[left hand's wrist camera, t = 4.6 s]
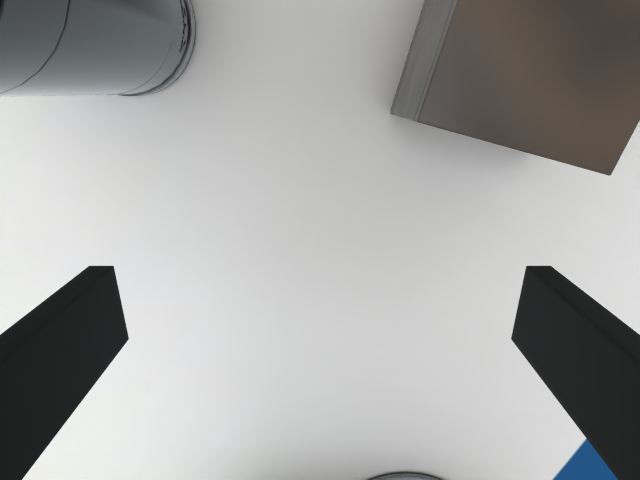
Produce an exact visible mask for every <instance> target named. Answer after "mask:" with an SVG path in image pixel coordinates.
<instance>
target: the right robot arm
mask: <svg viewBox="0 0 640 480" xmlns="http://www.w3.org/2000/svg"><path fill="white" fill-rule="evenodd" d="M194 41H195V18H194V12H193V8H192V4H191V1H190V0H0V97H1V96H57V95H123V96H142V95H148V94H152V93H156V92H158V91H160V90H163V89H164V88H166V87H168V86H169V85H170V84H172V83H173V82H174V81H175V80H176V79H177V78H178V77H179V76H180V75H181V73H182V72H183V71H184V69H185V67H186V66H187V64H188V62H189V59H190V57H191V54H192V51H193V47H194Z"/></svg>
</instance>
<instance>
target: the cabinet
mask: <svg viewBox="0 0 640 480" xmlns="http://www.w3.org/2000/svg"><path fill="white" fill-rule="evenodd" d="M390 113H391V114H394V115H397V116H400V117H403V118H406V119H410V120H413V121H416V122H419V123H423V124H427V125H430V126H434V127H437V128H441V129H444V130H448V131H452V132H455V133H459V134H462V135H466V136H470V137H473V138H477V139H480V140H484V141H487V142H491V143H495V144H498V145H502V146H505V147H509V148H512V149H516V150H520V151H523V152H527V153H530V154H534V155H538V156H541V157H545V158H548V159H552V160H555V161H559V162H563V163H566V164H570V165H573V166H577V167H581V168H584V169H588V170H591V171H595V172H598V173H602V174H606V175H611V173H612V172H613V170H614V168H615V166H616V164H617V162H618V160H619V158H620V156H621V154H622V153H623V151H624V149H625V147H626V145H627V143H628V141H629V139H630V137H631V135H632V134H633V132H634V130H635V128H636V126H637V124H638V122H639V120H640V0H425V1H424V5H423V8H422V11H421V14H420V18H419V21H418V24H417V27H416V31H415V34H414V37H413V40H412V43H411V47H410V50H409V53H408V56H407V60H406V63H405V66H404V69H403V73H402V76H401V79H400V82H399V85H398V89H397V92H396V95H395V98H394V102H393V105H392V108H391V111H390Z"/></svg>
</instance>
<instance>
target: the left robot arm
mask: <svg viewBox="0 0 640 480" xmlns="http://www.w3.org/2000/svg"><path fill="white" fill-rule="evenodd" d="M128 339H129V338H128V333H127V328H126V323H125V319H124V314H123V309H122V304H121V299H120V295H119V290H118V285H117V280H116V276H115V271H114V266H89V267H87V268H86V269H85V270H84V271H82V272H81V273H80V274H78V275H77V276H76V277H75V278H73V279H72V280H71V281H69V282H68V283H67V284H65V285H64V286H63V287H62V288H60V289H59V290H58V291H56V292H55V293H54V294H53V295H51V296H50V297H49V298H47V299H46V300H45V301H44V302H42V303H41V304H40V305H38V306H37V307H36V308H34V309H33V310H32V311H31V312H29V313H28V314H27V315H25V316H24V317H23V318H22V319H20V320H19V321H18V322H16V323H15V324H14V325H13V326H11V327H10V328H9V329H7V330H6V331H5V332H3V333H2V334H1V335H0V480H22V479H23V477H24V476H25V475H26V473H27V472H28V471H29V470H30V468H31V467H32V466H33V464H34V463H35V462H36V460H37V459H38V458H39V456H40V455H41V454H42V452H43V451H44V450H45V448H46V447H47V446H48V445H49V443H50V442H51V441H52V439H53V438H54V437H55V435H56V434H57V433H58V431H59V430H60V429H61V427H62V426H63V425H64V423H65V422H66V421H67V420H68V418H69V417H70V416H71V414H72V413H73V412H74V410H75V409H76V408H77V406H78V405H79V404H80V402H81V401H82V400H83V398H84V397H85V396H86V395H87V393H88V392H89V391H90V389H91V388H92V387H93V385H94V384H95V383H96V381H97V380H98V379H99V377H100V376H101V375H102V373H103V372H104V371H105V370H106V368H107V367H108V366H109V364H110V363H111V362H112V360H113V359H114V358H115V356H116V355H117V354H118V352H119V351H120V350H121V349H122V347H123V346H124V345H125V343H126V342H127V341H128ZM511 339H512V341H513V342H514V343H515V345H516V346H517V347H518V349H519V350H520V351H521V352H522V354H523V355H524V356H525V358H526V359H527V360H528V362H529V363H530V364H531V366H532V367H533V368H534V370H535V371H536V372H537V373H538V375H539V376H540V377H541V379H542V380H543V381H544V383H545V384H546V385H547V387H548V388H549V389H550V391H551V392H552V393H553V395H554V396H555V397H556V398H557V400H558V401H559V402H560V404H561V405H562V406H563V408H564V409H565V410H566V412H567V413H568V414H569V416H570V417H571V418H572V420H573V421H574V422H575V423H576V425H577V426H578V427H579V429H580V430H581V431H582V433H583V434H584V435H585V437H586V438H587V439H588V440H589V442H590V443H591V444H592V446H593V447H594V448H595V450H596V451H597V452H598V454H599V455H600V456H601V458H602V459H603V460H604V462H605V463H606V464H607V466H608V467H609V468H610V469H611V471H612V472H613V473H614V475H615V476H616V477H617V479H618V480H640V335H639V334H638V333H637V332H635V331H634V330H633V329H631V328H630V327H629V326H627V325H626V324H625V323H624V322H622V321H621V320H620V319H618V318H617V317H616V316H615V315H613V314H612V313H611V312H609V311H608V310H607V309H606V308H604V307H603V306H602V305H600V304H599V303H598V302H596V301H595V300H594V299H593V298H591V297H590V296H589V295H587V294H586V293H585V292H584V291H582V290H581V289H580V288H578V287H577V286H576V285H575V284H573V283H572V282H571V281H569V280H568V279H567V278H565V277H564V276H563V275H562V274H560V273H559V272H558V271H556V270H555V269H554V268H553V267H551V266H526V271H525V276H524V280H523V285H522V290H521V295H520V299H519V304H518V309H517V314H516V319H515V323H514V328H513V333H512V338H511ZM372 480H439V479H437V478H434V477H430V476H426V475H421V474H411V473H402V474H391V475H386V476H381V477H378V478H375V479H372Z"/></svg>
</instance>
